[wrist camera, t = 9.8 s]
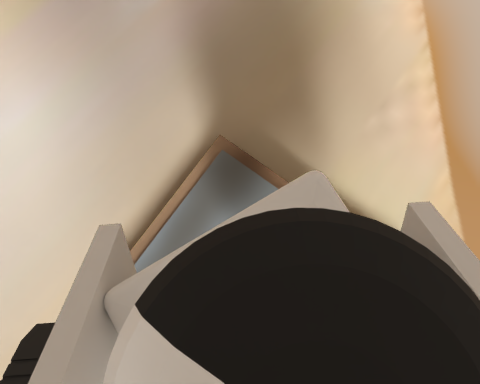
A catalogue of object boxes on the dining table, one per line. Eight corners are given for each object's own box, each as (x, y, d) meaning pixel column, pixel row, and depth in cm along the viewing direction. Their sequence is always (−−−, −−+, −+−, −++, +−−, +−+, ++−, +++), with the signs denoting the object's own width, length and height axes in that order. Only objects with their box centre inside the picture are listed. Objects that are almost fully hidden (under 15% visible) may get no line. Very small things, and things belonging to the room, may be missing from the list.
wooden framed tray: (102, 300, 28) (85, 305, 25) (221, 144, 30) (219, 132, 27) (288, 448, 26) (294, 473, 23) (400, 269, 28) (419, 271, 25)
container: (288, 202, 18) (396, 70, 5) (373, 336, 17) (775, 579, 4) (158, 279, 18) (-69, 339, 5) (236, 425, 16) (215, 1044, 3)
